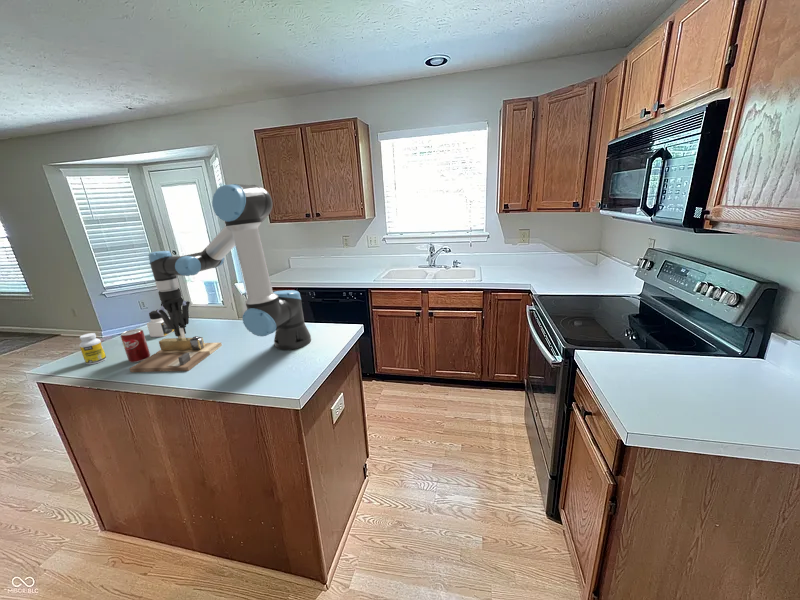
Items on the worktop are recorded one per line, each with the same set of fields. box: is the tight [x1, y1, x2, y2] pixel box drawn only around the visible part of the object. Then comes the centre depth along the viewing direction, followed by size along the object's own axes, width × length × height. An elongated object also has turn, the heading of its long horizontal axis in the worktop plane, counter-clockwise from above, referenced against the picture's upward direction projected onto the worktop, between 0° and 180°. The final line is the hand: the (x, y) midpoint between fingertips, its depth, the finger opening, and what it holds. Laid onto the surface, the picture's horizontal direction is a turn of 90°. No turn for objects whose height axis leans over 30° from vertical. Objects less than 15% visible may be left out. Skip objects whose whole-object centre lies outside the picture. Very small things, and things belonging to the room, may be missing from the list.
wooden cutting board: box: [129, 342, 223, 373], centre depth 135 cm, size 23×22×4 cm
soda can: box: [120, 328, 151, 364], centre depth 135 cm, size 7×7×12 cm
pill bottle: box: [79, 332, 107, 365], centre depth 135 cm, size 6×6×12 cm
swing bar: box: [158, 336, 205, 350], centre depth 139 cm, size 17×4×5 cm, turn 87°
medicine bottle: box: [146, 309, 174, 338], centre depth 161 cm, size 7×7×12 cm
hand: (182, 342), depth 143 cm, fingers closed
